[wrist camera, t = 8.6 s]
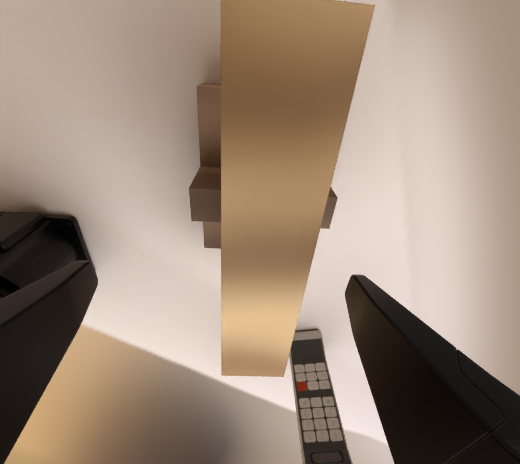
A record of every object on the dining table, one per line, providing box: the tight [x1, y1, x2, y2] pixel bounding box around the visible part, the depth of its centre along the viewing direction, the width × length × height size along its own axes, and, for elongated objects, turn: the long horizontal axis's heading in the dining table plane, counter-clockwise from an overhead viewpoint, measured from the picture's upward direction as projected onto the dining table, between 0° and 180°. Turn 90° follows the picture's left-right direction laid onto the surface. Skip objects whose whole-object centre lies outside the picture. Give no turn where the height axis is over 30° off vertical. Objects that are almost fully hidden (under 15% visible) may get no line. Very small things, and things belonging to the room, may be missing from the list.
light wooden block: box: [221, 0, 375, 377], centre depth 12 cm, size 16×4×5 cm, turn 175°
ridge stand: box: [189, 83, 337, 248], centre depth 17 cm, size 11×8×6 cm
